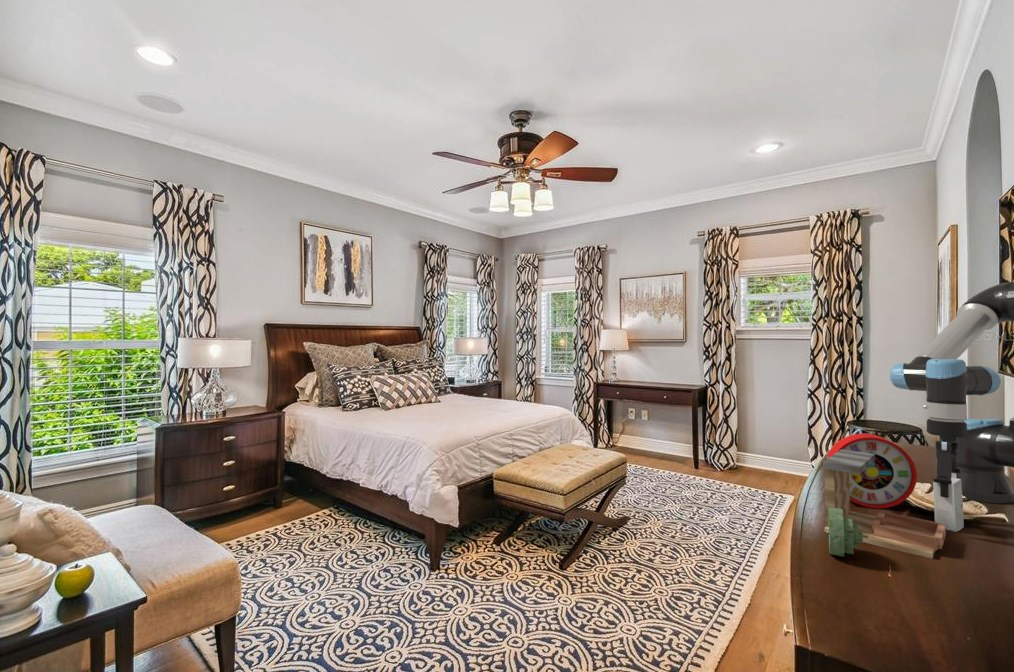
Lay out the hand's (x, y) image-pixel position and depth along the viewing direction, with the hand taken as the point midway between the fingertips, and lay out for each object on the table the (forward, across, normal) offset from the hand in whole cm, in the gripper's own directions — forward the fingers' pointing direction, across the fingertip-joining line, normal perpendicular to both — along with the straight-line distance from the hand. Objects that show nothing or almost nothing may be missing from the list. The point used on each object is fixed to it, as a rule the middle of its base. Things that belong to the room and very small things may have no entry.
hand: (947, 503), depth 120 cm
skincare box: (+6, 0, 0) cm, 6 cm away
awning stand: (+6, +17, -10) cm, 20 cm away
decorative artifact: (+7, +37, -14) cm, 40 cm away
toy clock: (+6, -6, -17) cm, 19 cm away
